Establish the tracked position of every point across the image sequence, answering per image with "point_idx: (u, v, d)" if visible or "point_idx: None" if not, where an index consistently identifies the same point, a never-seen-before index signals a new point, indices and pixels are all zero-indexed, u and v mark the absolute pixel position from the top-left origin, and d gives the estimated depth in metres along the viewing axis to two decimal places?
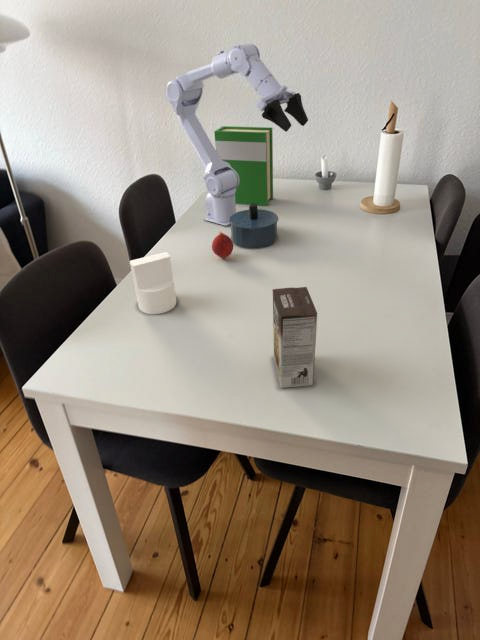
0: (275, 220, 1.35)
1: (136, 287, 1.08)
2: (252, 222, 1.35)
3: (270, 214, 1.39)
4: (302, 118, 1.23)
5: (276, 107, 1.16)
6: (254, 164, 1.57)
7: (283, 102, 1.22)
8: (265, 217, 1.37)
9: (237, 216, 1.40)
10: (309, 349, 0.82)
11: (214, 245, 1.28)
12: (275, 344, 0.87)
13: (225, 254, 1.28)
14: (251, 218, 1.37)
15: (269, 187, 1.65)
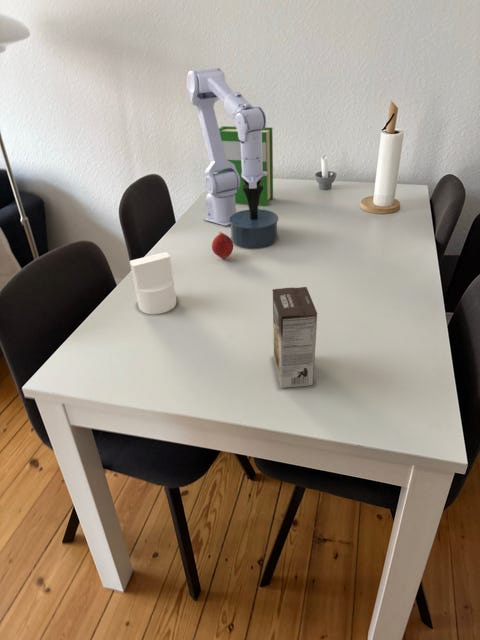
0: (275, 220, 1.35)
1: (136, 287, 1.08)
2: (252, 222, 1.35)
3: (270, 214, 1.39)
4: None
5: (260, 193, 1.28)
6: None
7: None
8: (265, 217, 1.37)
9: (237, 216, 1.40)
10: (309, 349, 0.82)
11: (214, 245, 1.28)
12: (275, 344, 0.87)
13: (225, 254, 1.28)
14: (251, 218, 1.37)
15: (269, 187, 1.65)
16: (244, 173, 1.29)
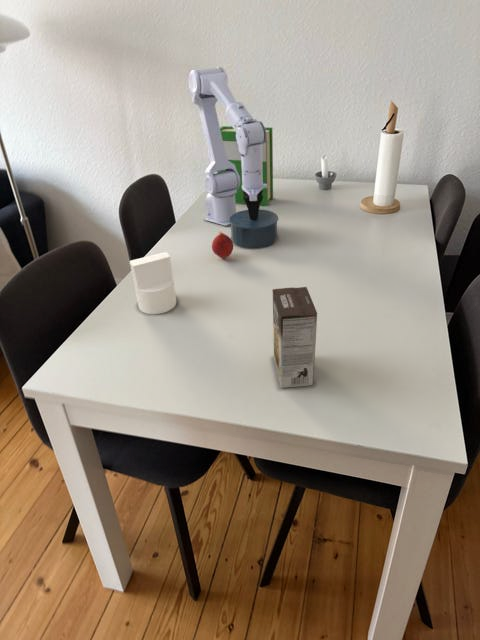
0: (275, 220, 1.35)
1: (136, 287, 1.08)
2: (252, 222, 1.35)
3: (270, 214, 1.39)
4: None
5: (260, 202, 1.32)
6: None
7: None
8: (265, 217, 1.37)
9: (237, 215, 1.40)
10: (309, 349, 0.82)
11: (214, 245, 1.28)
12: (275, 344, 0.87)
13: (225, 254, 1.28)
14: None
15: (269, 187, 1.65)
16: (244, 185, 1.30)
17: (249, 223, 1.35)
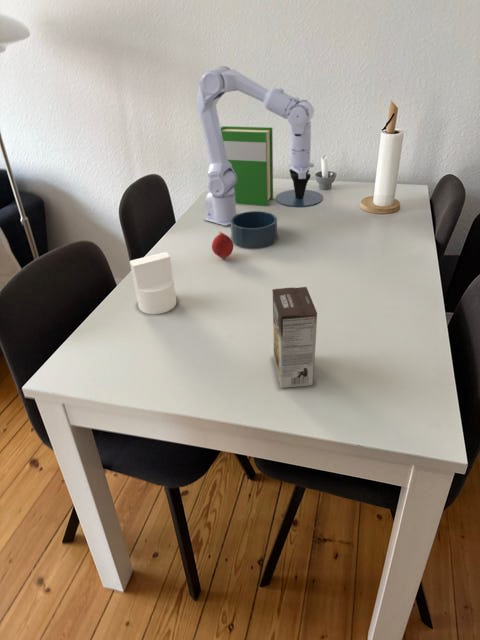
0: (321, 199, 1.39)
1: (136, 287, 1.08)
2: (298, 201, 1.39)
3: (314, 193, 1.43)
4: None
5: (307, 181, 1.35)
6: (254, 164, 1.57)
7: None
8: (310, 196, 1.41)
9: (282, 195, 1.43)
10: (309, 349, 0.82)
11: (214, 245, 1.28)
12: (275, 344, 0.87)
13: (225, 254, 1.28)
14: None
15: (269, 187, 1.65)
16: (293, 164, 1.34)
17: (296, 202, 1.38)
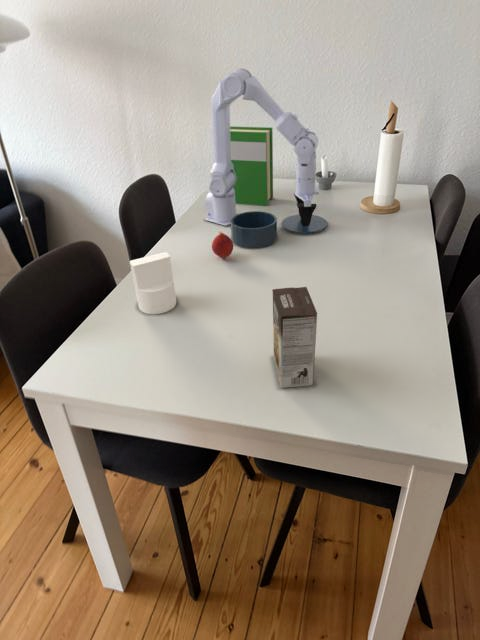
0: (325, 225, 1.44)
1: (136, 287, 1.08)
2: (304, 226, 1.44)
3: (319, 219, 1.48)
4: None
5: (313, 210, 1.39)
6: (254, 164, 1.57)
7: None
8: (315, 222, 1.46)
9: (288, 220, 1.49)
10: (309, 349, 0.82)
11: (214, 245, 1.28)
12: (275, 344, 0.87)
13: (225, 254, 1.28)
14: None
15: (269, 187, 1.65)
16: (298, 192, 1.39)
17: (301, 227, 1.44)
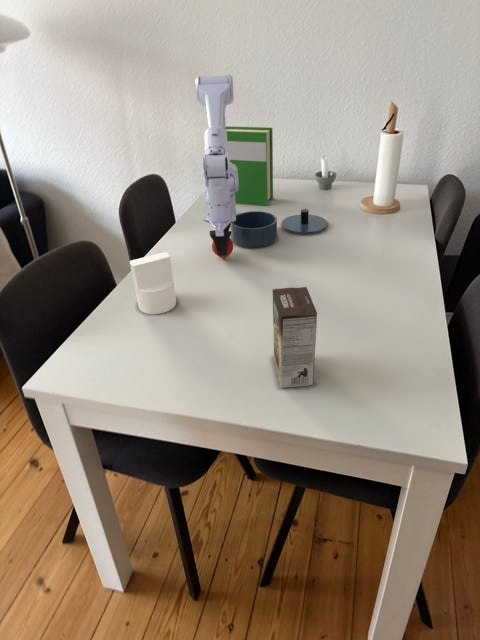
0: (325, 225, 1.44)
1: (136, 287, 1.08)
2: (304, 226, 1.44)
3: (319, 219, 1.48)
4: None
5: (228, 239, 1.23)
6: (254, 164, 1.57)
7: None
8: (315, 222, 1.46)
9: (288, 220, 1.49)
10: (309, 349, 0.82)
11: (214, 245, 1.28)
12: (275, 344, 0.87)
13: None
14: (302, 223, 1.46)
15: (269, 187, 1.65)
16: (211, 219, 1.23)
17: (301, 227, 1.44)
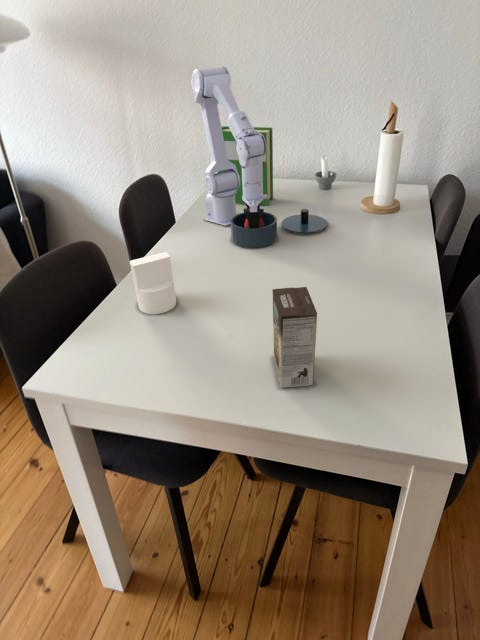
0: (325, 225, 1.44)
1: (136, 287, 1.08)
2: (304, 226, 1.44)
3: (319, 219, 1.48)
4: None
5: (260, 216, 1.32)
6: None
7: None
8: (315, 222, 1.46)
9: (288, 220, 1.49)
10: (309, 349, 0.82)
11: (247, 224, 1.37)
12: (275, 344, 0.87)
13: None
14: (302, 223, 1.46)
15: (269, 187, 1.65)
16: (245, 196, 1.32)
17: (301, 227, 1.44)
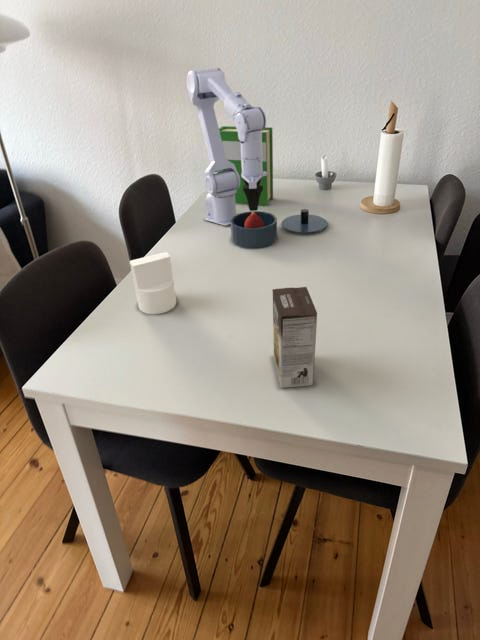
0: (325, 225, 1.44)
1: (136, 287, 1.08)
2: (304, 226, 1.44)
3: (319, 219, 1.48)
4: None
5: (260, 193, 1.28)
6: None
7: None
8: (315, 222, 1.46)
9: (288, 220, 1.49)
10: (309, 349, 0.82)
11: (247, 224, 1.37)
12: (275, 344, 0.87)
13: None
14: (302, 223, 1.46)
15: (269, 187, 1.65)
16: (244, 173, 1.29)
17: (301, 227, 1.44)
